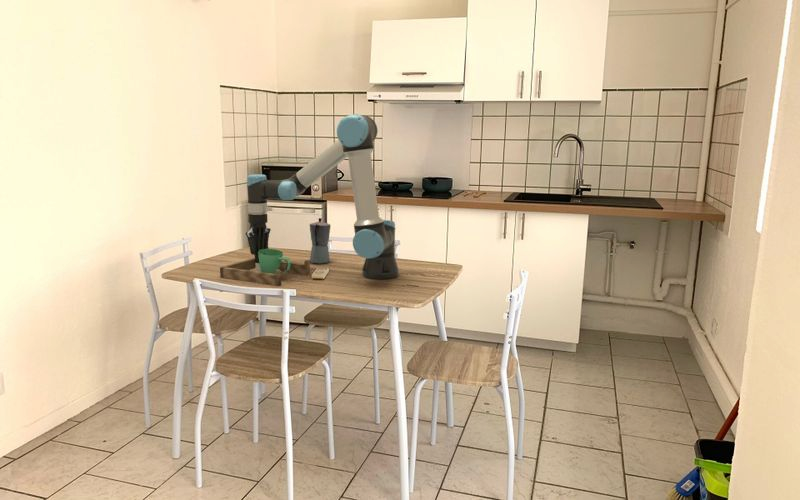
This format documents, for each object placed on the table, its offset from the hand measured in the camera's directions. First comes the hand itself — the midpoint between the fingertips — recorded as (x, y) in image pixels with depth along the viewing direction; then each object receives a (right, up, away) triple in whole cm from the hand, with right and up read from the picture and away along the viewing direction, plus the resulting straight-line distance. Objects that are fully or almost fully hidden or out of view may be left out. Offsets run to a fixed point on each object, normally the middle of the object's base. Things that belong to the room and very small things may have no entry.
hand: (259, 270), depth 243 cm
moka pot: (+22, +2, +24) cm, 33 cm away
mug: (+6, -3, -3) cm, 8 cm away
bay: (+4, -2, +1) cm, 4 cm away
